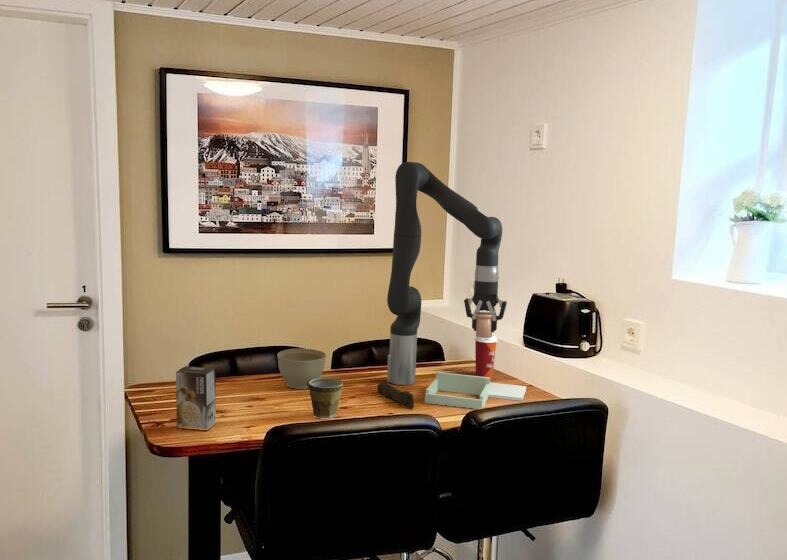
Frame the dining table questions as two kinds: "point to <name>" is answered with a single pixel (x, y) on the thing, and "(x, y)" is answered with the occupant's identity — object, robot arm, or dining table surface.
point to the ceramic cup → (325, 396)
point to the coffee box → (195, 397)
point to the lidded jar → (484, 325)
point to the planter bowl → (300, 366)
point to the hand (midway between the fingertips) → (484, 331)
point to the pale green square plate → (506, 391)
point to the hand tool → (397, 394)
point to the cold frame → (458, 390)
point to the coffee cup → (485, 356)
